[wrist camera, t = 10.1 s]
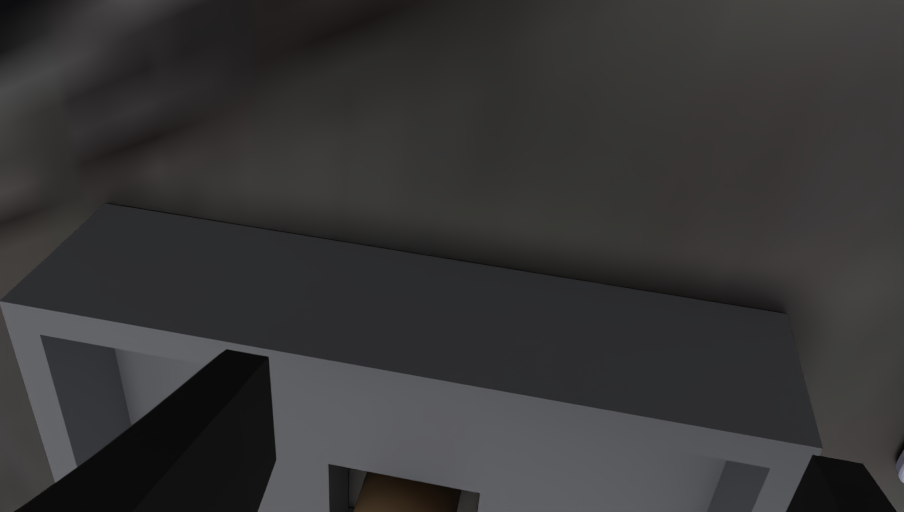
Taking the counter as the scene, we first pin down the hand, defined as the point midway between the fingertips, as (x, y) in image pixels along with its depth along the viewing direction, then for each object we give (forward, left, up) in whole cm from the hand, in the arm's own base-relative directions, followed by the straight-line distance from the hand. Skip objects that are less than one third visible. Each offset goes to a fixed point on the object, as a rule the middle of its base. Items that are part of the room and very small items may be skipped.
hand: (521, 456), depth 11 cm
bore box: (+3, +12, -9) cm, 16 cm away
